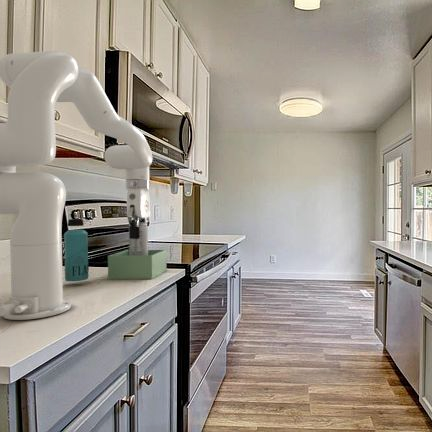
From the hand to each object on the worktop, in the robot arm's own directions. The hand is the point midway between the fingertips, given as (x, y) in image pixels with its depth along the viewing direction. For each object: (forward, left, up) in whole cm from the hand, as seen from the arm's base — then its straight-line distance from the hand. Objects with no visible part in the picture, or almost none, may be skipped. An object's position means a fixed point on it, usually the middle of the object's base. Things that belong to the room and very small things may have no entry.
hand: (138, 237), depth 124 cm
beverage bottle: (-15, +13, -13) cm, 24 cm away
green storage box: (0, 0, -13) cm, 13 cm away
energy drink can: (0, 0, -10) cm, 10 cm away
